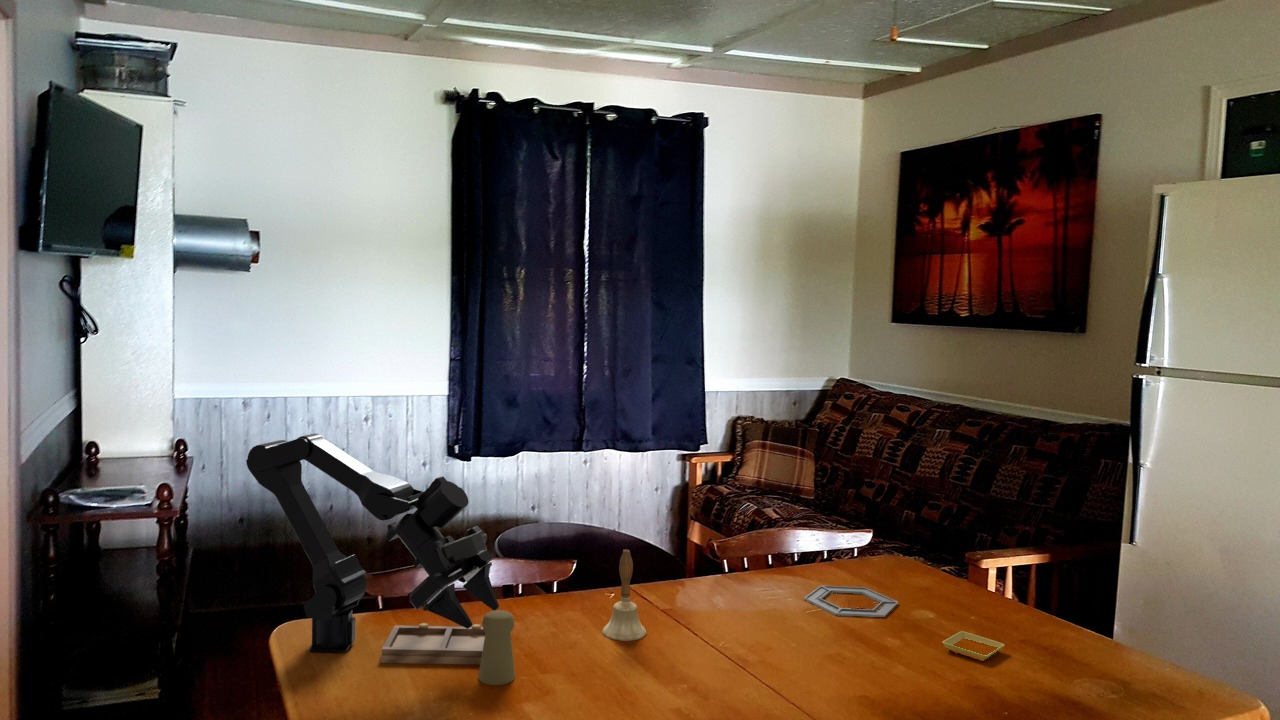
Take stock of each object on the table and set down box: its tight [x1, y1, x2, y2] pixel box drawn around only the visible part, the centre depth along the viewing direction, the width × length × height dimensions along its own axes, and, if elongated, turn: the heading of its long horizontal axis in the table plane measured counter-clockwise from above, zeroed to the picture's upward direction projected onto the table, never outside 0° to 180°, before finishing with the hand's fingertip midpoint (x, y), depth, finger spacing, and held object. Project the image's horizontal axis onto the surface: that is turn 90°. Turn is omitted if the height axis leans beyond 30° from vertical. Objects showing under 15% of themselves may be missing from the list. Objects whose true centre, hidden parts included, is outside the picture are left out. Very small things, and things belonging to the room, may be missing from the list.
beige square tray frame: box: [942, 630, 1005, 659], centre depth 177 cm, size 9×9×2 cm
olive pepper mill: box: [477, 609, 516, 686], centre depth 157 cm, size 6×6×11 cm
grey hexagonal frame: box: [803, 585, 899, 618], centre depth 202 cm, size 17×20×1 cm
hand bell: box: [601, 549, 647, 642], centre depth 179 cm, size 8×8×16 cm
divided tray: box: [380, 622, 485, 666], centre depth 168 cm, size 20×12×3 cm, turn 93°
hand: (484, 617), depth 157 cm, fingers open, 9 cm apart
